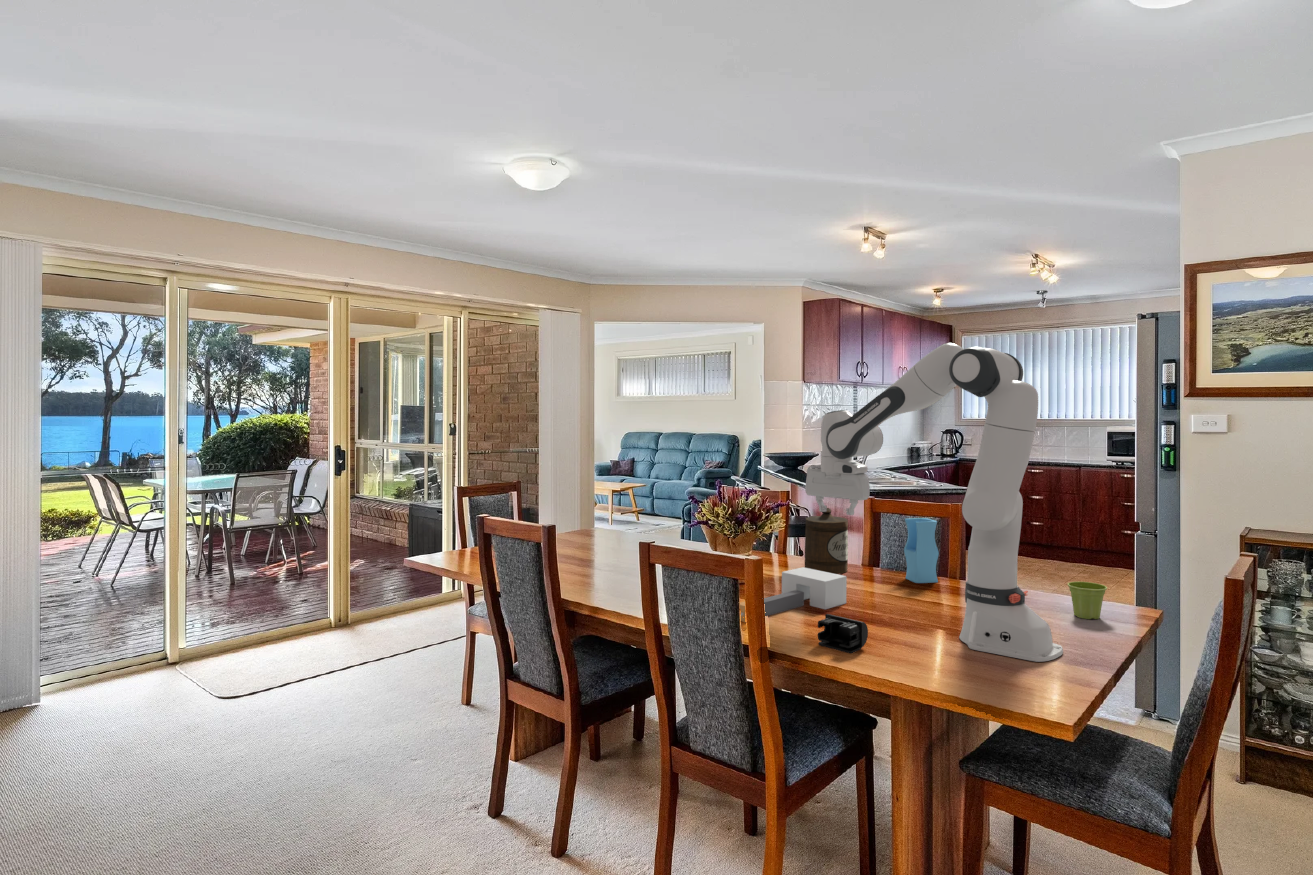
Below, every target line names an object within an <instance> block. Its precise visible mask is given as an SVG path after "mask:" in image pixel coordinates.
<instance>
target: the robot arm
mask: <svg viewBox="0 0 1313 875" xmlns="http://www.w3.org/2000/svg"><path fill="white" fill-rule="evenodd" d="M1023 378H1024V368H1023V366H1022V363H1021V362H1020V361H1019V360H1018V359H1017V357H1015V356H1014V355H1012V354H1010V353H1007V352H1002V351H1000V350H997V349H994V348H990V347H989V348H988V347H981V346H971V347H966V348H963V347H962V346H961V345H958V344H956V343H952V342H947V343H944V344H941V345H940V346H938V347H936V348H935V349H932V350H931V351H930V352H928V353H927V354H926V355H925V356H923V357H922V358H921V359H919V360H918V361H917V362H916V363H915V364H914V365H913V366H911V367H910V369H909V370H907V371H906V372H905V373H904V374H903V375H901V377H899V378H898V379H897V380H896V381H895V382H893V384H891V385H890V386H889V387H887V389H885V390H884V391H882V392H881V393H880V394H878V395H877V396H875V397H874V398H873V399H872V400H871V401H869V402H868V403H867V404H866V405H864V406H863V407H862V408H860V409H859V410H858V411H857V412H855V413H854V414H852V413H851V411H849V410H845V409H841V410H833V411H829V412H827V413H825V414H824V415H823V417H822V420H821V426H820V443H821V451H820V452H821V453H820V464H810V466H808V467H807V469H806V478H805V479H806V480H805V493H806V495H807V496H813V497H815V501H816V503H817V505H818V507H819V508H818V509H819V510H818V511H819V512H821V513H822V512H826V511H827V509H826V508H828V506H827V505H825V502H824V499H825V498H833V499H845V500H849V503H850V506H849V508H846V510H845V511H846V515H848V516H854V514H855V508H856V507H857V505H858V503H859V502H858V501H865V500H868V499H869V498H870V495H871V494H870V489H871V488H870V480H869V476H868V475H867V472H868V470H869V469H868V466H867V465H866V464H863V463H861V462H859V461H856V460H854V459H853V458H856V457H864V456H866V457H867V456H872V455H875V454H877V453H878V452H879V451H881V448H882V447H883V444H884V434H883V432H882V429H881V428H880V427H879V426H880V425H881V424H883V423H884V422H886V421H887V420H888V419H890V418H893V417H896V416H899V415H901V414H906V413H910V412H915V411H922V410H924V409H927V408H928V407H931V406H932V405H934V404H936V403H937V402H939V401H940V400H941V399H943V398H944V397H945V396H947V394H948V393H949V392H951V391H952V390H953V389H955V387H958V388H960V389H962V390H963V391H966V392H968V393H970V394H972V395H974V396H975V397H977V398H984V399H985V400H986V402H987V411H986V416H985V421H984V425H983V430H982V434H981V435H982V436H981V440H980V443H979V444H980V445H979V449H978V454H977V457H976V460H975V463H974V466H973V470H972V472H971V475H970V479H969V481H968V485H967V488H966V492H965V494H964V495H965V496H964V499H963V501H962V506H961V513H962V516H963V518H964V520H965V521H966V523H967V524H968V525H970V526H971V527H972V528H971V535H970V540H969V545H968V548H967V549H968V550H967V580H966V581H965V587H964V589H965V590H964V600H965V602H964V603H965V604H966V605H965V613H964V620H963V624H962V628H961V631H960V634H959V640H960V641H962V642H963V643H965V644H966V645H967V647H968V648H969V649H970V650H973V651H974V650H975V651H979V652H984V653H989V654H994V655H999V656H1005V657H1009V658H1016V659H1020V660H1025V661H1030V662H1037V663H1038V662H1039V663H1041V662H1048V661H1052V660H1055V659H1057V658H1059V657H1061V656H1062V655H1063V654H1064V648H1063V646H1062V645H1061V644H1057V643H1054V642H1053V634H1052V631H1051V627H1050V625H1049V623H1048V622H1047V621H1046V620H1045V619H1044V618H1042V617H1041V616H1040V615H1039V614H1037V613H1036V612H1035V610H1033V609H1032V608H1031V607H1030V606H1029V605H1027V604H1026V599H1025V598H1026V597H1027V596H1028V595H1029V594H1028V592H1029V591H1028V590H1025V591H1023V590H1022V589H1021V588H1020V587H1019V586H1018V560H1019V559H1018V557H1019V556H1018V554H1019V546H1020V541H1021V540H1020V537H1021V529H1022V521H1023V520H1022V518H1023V505H1024V503H1023V502H1024V500H1023V496H1022V494H1021V492H1020V488H1021V486H1022V482H1023V478H1024V475H1025V473H1026V471H1027V467H1028V464H1029V462H1030V456H1031V453H1032V447H1033V443H1034V438H1035V433H1036V429H1037V422H1038V413H1039V393H1038V390H1037V389H1036V388H1035V387H1034V386H1033V385H1031V384H1029V383H1028V382H1025V381H1023Z"/></svg>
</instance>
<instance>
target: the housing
mask: <svg viewBox="0 0 1313 875" xmlns="http://www.w3.org/2000/svg"><path fill="white" fill-rule="evenodd" d="M847 582H848V581H847V576H846V575H843V574H833V573H829V572H824V571H819V570H814V569H809V568H805V566H803V567H797V568H793V569H788V570H784V571H781V594H782V593H786V592H790V591H794V590H797V591H802V592H804V601H805V600H808V599H809V606H811V607H814V608H817V609H818V608H819V609H822V610H828V609H832V608H835V607H839V606H842V605H845V604H847V584H848V583H847Z"/></svg>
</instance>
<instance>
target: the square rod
mask: <svg viewBox="0 0 1313 875" xmlns="http://www.w3.org/2000/svg"><path fill="white" fill-rule="evenodd" d="M745 601H746V600H745ZM745 601H741V602H739V603H740V609H741V621H740V622H743V623H746V622H745ZM804 602H805V600H804V592H802V591H797V590H794V591H790V592H786V593H782V592H781V593H779V594H775V595H771V596H767V597H764V604H765V612H766V613H765V616H766V617H768V616H771V615H775V614H776V615H777V614H780V613H783V612H786V611H789V610H794V609H797V608H801V607H804V606H805V603H804ZM743 617H744V618H743Z"/></svg>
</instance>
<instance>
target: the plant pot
mask: <svg viewBox="0 0 1313 875" xmlns="http://www.w3.org/2000/svg"><path fill="white" fill-rule="evenodd" d="M1067 586H1068V588H1069V592H1070V595H1071V596H1070V597H1071V601H1072V602H1071V603H1072V609H1073V610H1072V611H1073V616H1076V617H1077V618H1080V619H1084V620H1091V619H1094V620H1099V619H1100V618H1101V612H1102V605H1103V601H1104V595H1105V593H1106V591H1107V590H1108V587H1107V586H1106V585H1104V584H1101V583H1098V582H1097V583H1096V582H1091V581H1090V582H1089V581H1071V582H1070V581H1069V582H1067Z"/></svg>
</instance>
